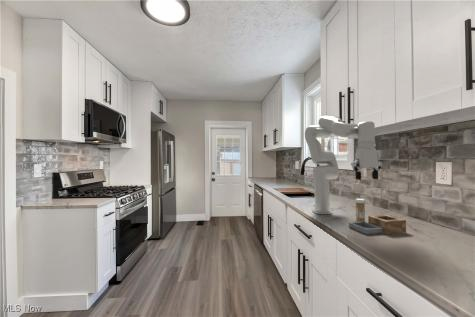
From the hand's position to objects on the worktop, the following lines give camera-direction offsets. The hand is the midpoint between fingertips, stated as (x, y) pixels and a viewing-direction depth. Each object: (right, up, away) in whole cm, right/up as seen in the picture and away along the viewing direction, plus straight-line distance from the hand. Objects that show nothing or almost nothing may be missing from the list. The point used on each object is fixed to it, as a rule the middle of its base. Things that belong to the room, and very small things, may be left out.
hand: (366, 179), depth 113 cm
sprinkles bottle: (+2, -26, +9) cm, 27 cm away
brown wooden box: (+8, -25, -3) cm, 27 cm away
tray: (-3, -25, -3) cm, 26 cm away
